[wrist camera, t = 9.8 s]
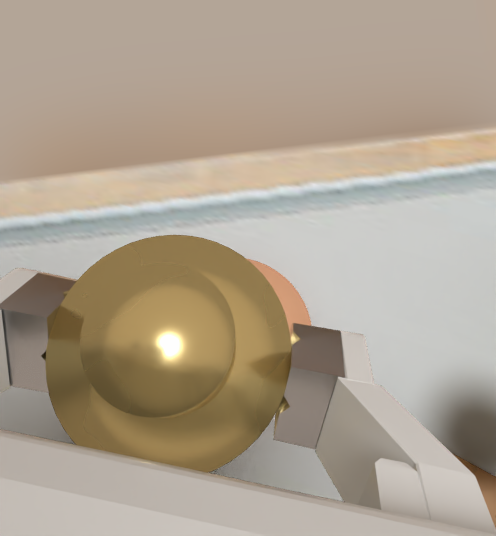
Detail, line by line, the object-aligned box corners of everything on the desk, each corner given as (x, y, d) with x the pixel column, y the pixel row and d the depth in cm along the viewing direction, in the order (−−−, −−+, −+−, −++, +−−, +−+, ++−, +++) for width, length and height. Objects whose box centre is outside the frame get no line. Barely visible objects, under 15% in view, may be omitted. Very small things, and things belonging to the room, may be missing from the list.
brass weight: (108, 407, 15) (-49, 393, 7) (180, 293, 16) (119, 166, 8) (226, 478, 14) (208, 558, 6) (290, 354, 15) (346, 283, 7)
